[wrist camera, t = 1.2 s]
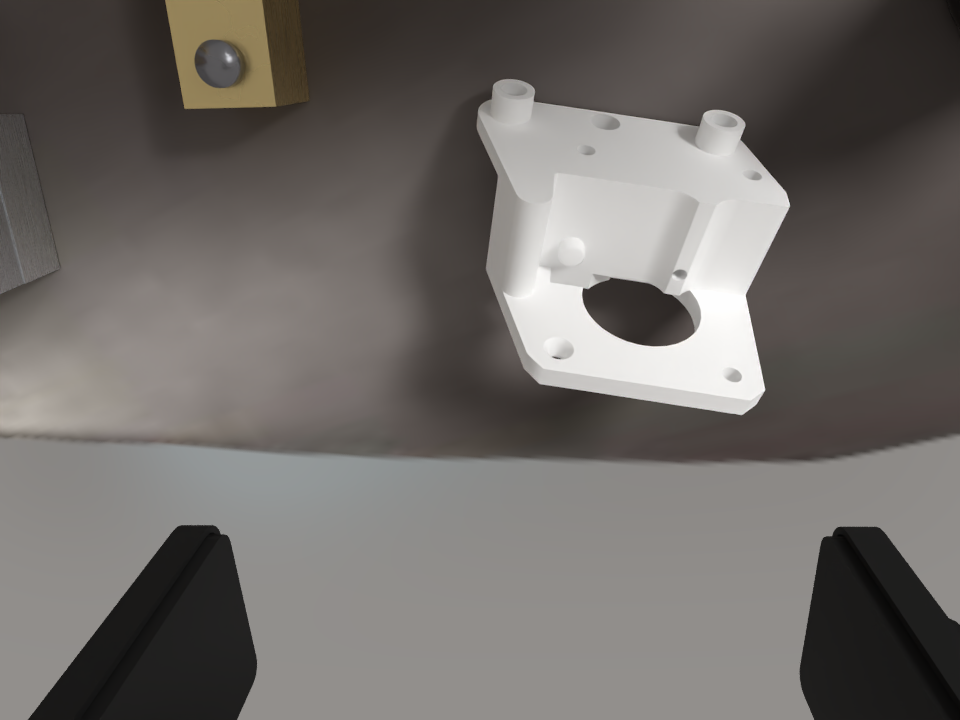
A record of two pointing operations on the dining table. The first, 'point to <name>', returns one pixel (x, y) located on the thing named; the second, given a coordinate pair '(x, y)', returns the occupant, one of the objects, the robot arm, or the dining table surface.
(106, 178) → the dining table surface
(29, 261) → the grey compartment tray
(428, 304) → the dining table surface
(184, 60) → the link
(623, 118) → the mounting bracket
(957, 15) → the supplement bottle
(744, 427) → the dining table surface
